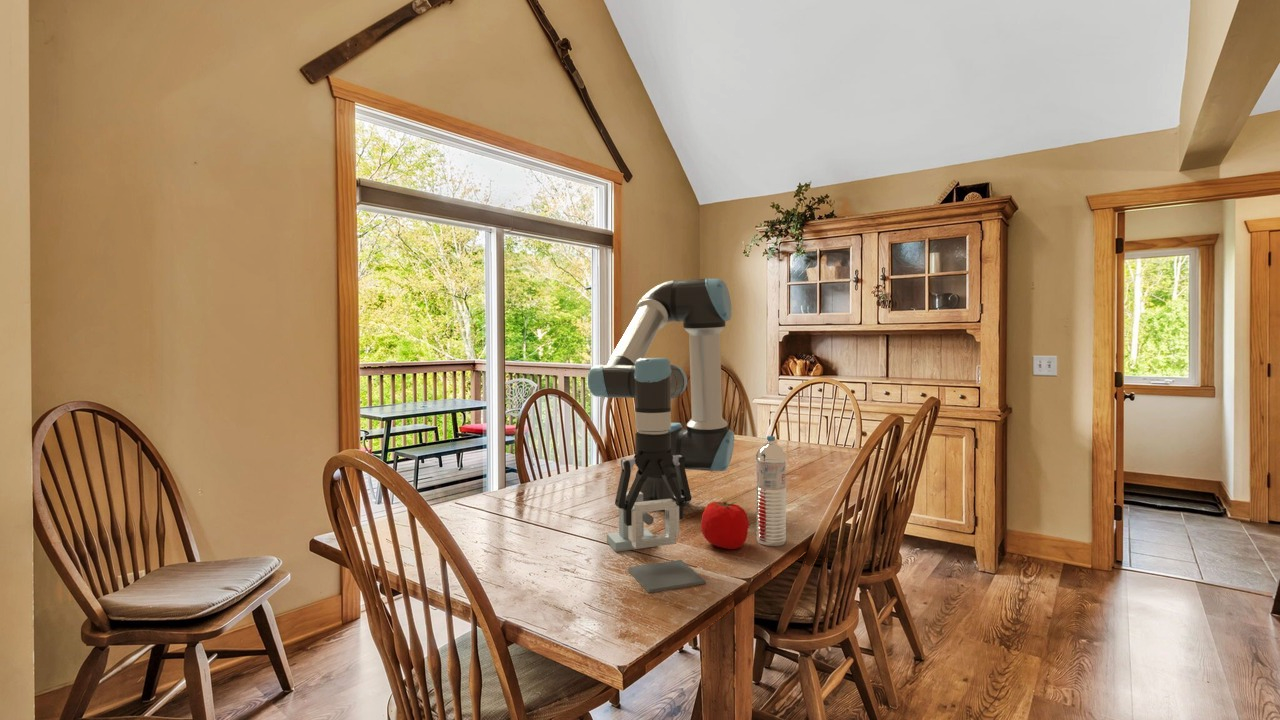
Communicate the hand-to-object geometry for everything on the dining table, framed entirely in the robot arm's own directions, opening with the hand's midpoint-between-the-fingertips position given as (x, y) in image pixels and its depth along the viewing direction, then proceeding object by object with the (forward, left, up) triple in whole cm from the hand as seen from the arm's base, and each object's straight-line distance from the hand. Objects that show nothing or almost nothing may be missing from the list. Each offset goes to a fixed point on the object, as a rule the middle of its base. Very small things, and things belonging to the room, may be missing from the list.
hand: (653, 537), depth 127 cm
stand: (0, -11, -6) cm, 12 cm away
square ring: (0, 0, -1) cm, 1 cm away
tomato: (-20, -6, -6) cm, 22 cm away
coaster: (0, +6, -6) cm, 9 cm away
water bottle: (-31, -4, -6) cm, 32 cm away
